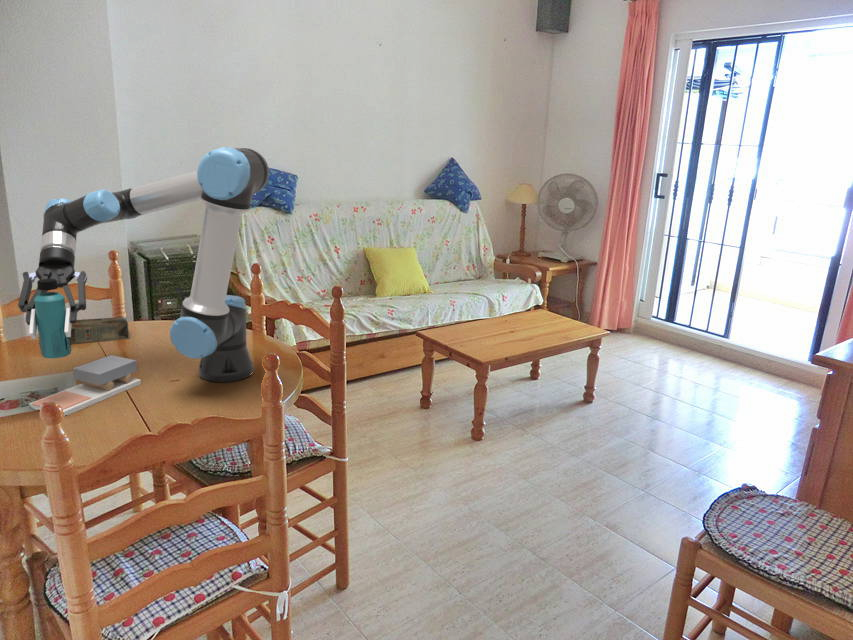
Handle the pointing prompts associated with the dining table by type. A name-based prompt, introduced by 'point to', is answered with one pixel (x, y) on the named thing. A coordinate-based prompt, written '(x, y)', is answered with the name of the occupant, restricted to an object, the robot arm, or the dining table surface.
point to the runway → (88, 394)
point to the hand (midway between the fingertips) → (50, 335)
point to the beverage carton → (99, 330)
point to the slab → (105, 370)
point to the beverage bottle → (51, 321)
